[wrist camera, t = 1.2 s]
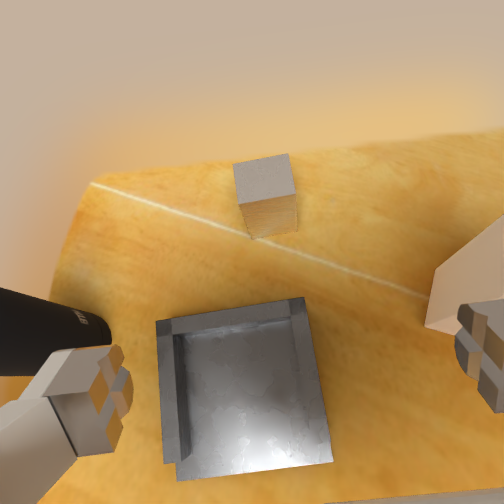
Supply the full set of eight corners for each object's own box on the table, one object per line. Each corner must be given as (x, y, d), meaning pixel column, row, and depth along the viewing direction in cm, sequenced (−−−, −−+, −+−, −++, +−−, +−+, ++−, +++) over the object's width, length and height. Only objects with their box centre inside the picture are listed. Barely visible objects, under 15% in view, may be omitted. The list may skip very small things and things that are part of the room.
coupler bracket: (332, 459, 34) (336, 470, 30) (180, 478, 35) (165, 491, 31) (304, 304, 38) (304, 296, 34) (169, 326, 39) (155, 321, 36)
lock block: (297, 231, 41) (296, 193, 32) (252, 239, 41) (238, 204, 33) (291, 196, 42) (287, 151, 34) (246, 205, 42) (232, 162, 34)
